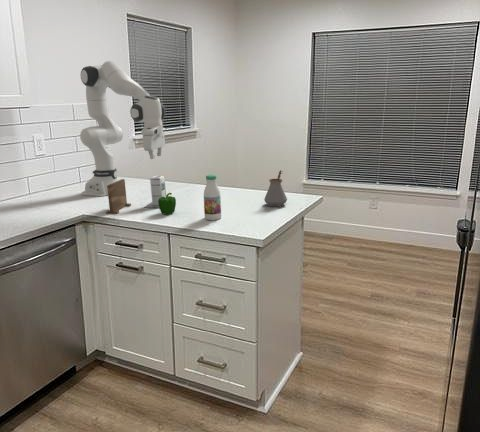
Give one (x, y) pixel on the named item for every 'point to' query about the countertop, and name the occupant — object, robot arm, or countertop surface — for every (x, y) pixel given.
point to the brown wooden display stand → (117, 197)
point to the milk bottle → (212, 199)
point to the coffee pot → (275, 193)
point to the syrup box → (157, 188)
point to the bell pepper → (167, 204)
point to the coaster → (151, 206)
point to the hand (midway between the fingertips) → (155, 157)
